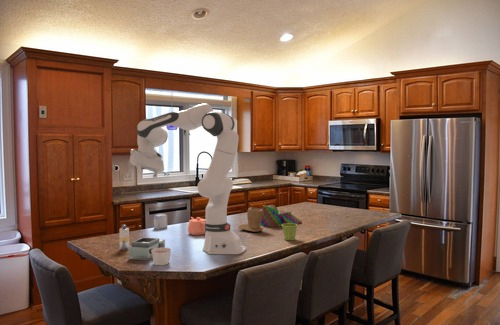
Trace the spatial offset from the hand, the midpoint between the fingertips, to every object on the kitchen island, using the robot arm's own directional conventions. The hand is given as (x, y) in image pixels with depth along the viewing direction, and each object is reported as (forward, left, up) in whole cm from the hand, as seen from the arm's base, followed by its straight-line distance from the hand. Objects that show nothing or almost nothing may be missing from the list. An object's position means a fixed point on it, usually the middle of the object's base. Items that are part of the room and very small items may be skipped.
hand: (148, 175), depth 213 cm
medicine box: (+18, -48, -39) cm, 65 cm away
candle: (-20, +26, -39) cm, 51 cm away
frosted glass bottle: (+11, +7, -39) cm, 41 cm away
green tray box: (-7, +14, -39) cm, 42 cm away
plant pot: (-71, -34, -39) cm, 88 cm away
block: (-59, -78, -39) cm, 105 cm away
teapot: (-13, -37, -39) cm, 56 cm away
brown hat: (-44, -53, -39) cm, 80 cm away
